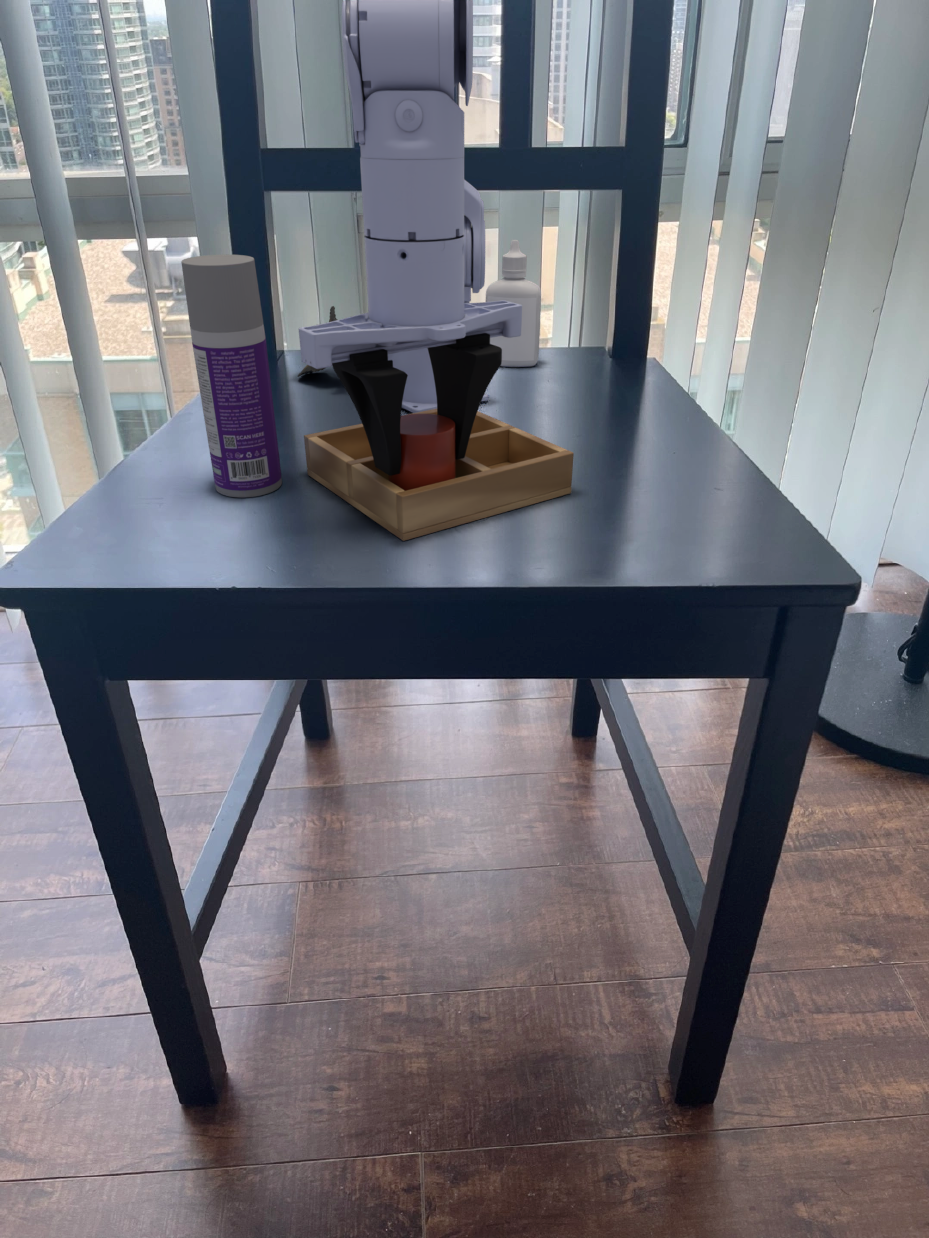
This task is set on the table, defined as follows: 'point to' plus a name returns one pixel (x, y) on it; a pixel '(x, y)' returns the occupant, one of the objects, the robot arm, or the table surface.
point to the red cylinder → (425, 451)
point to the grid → (483, 485)
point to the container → (233, 373)
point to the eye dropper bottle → (529, 296)
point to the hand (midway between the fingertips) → (420, 462)
